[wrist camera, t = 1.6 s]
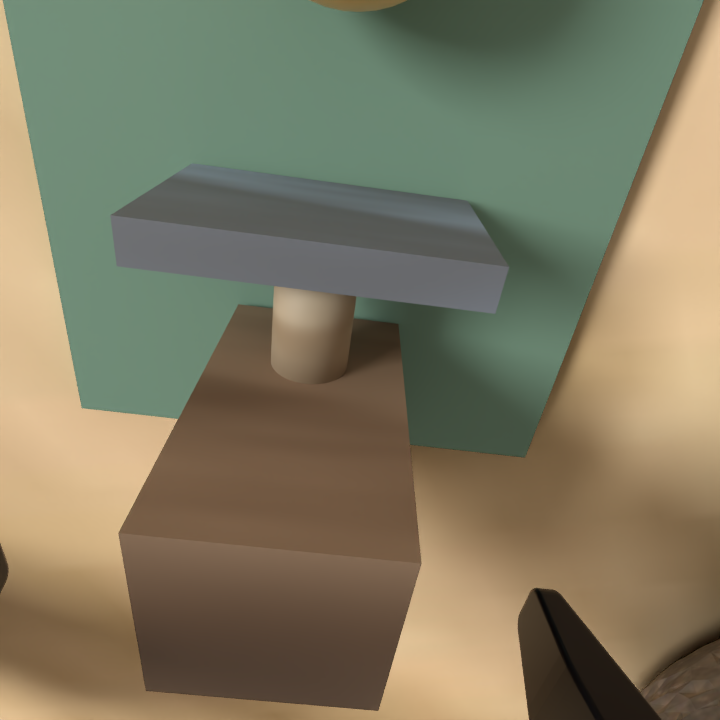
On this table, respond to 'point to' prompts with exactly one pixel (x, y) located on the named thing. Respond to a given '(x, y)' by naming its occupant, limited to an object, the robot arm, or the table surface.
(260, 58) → the pitch
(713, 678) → the bowl
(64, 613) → the table surface
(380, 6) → the ball
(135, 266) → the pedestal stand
